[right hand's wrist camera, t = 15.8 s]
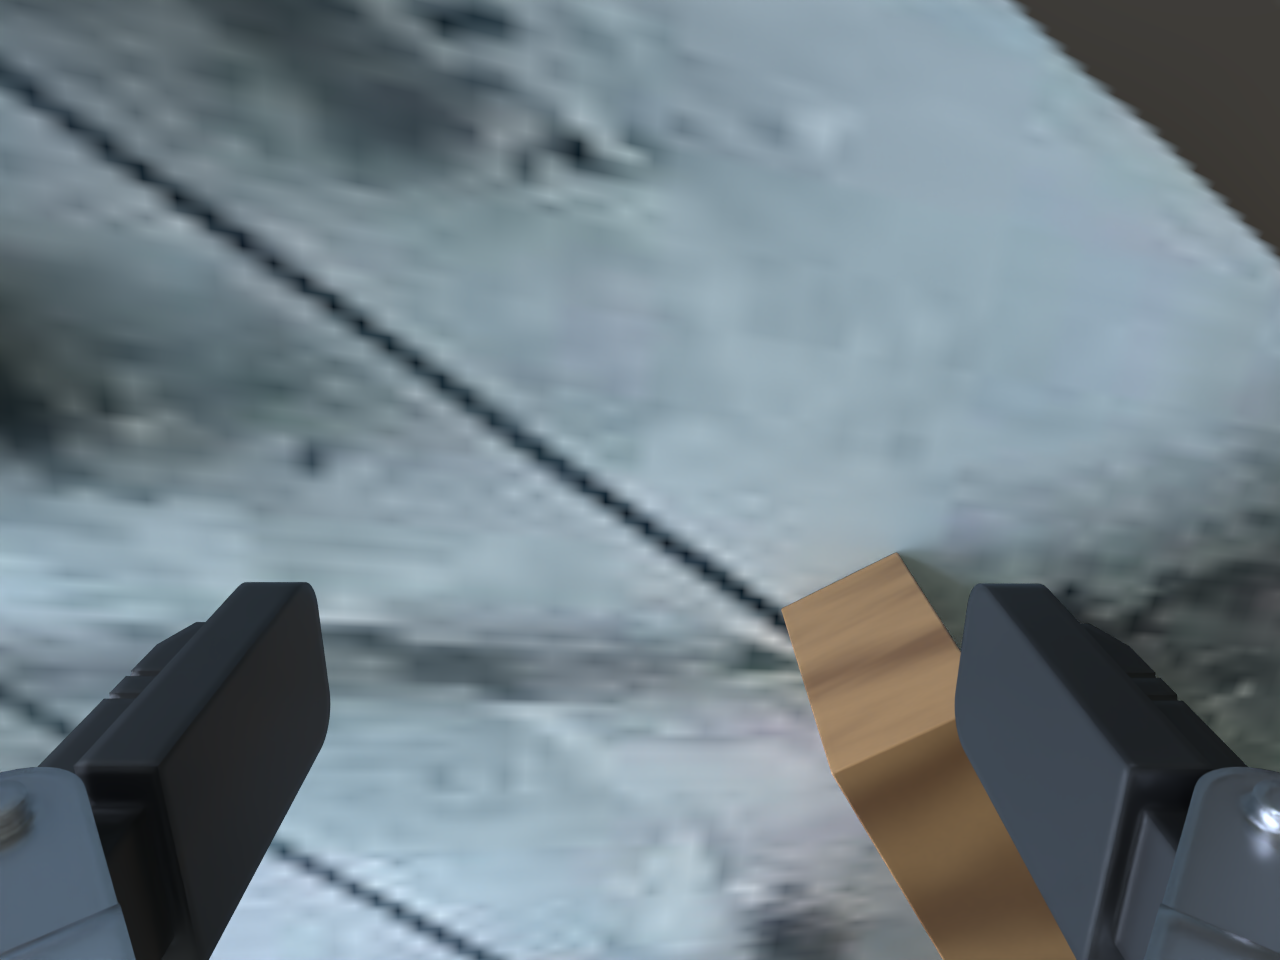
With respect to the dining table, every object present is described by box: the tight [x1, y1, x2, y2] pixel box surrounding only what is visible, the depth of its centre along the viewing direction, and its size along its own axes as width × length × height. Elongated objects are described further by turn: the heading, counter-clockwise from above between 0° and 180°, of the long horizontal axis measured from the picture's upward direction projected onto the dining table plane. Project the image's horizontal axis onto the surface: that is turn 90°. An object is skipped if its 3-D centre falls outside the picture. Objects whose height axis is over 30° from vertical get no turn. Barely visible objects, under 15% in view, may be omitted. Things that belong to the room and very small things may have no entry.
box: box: [782, 552, 1076, 960], centre depth 41 cm, size 28×6×12 cm, turn 30°
